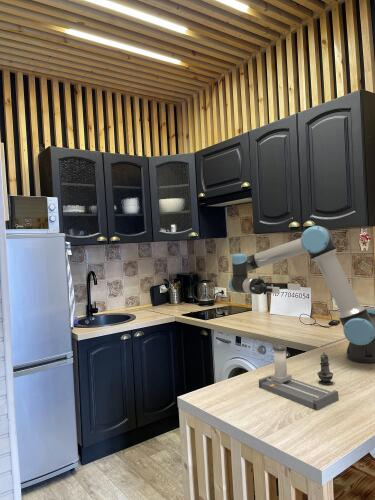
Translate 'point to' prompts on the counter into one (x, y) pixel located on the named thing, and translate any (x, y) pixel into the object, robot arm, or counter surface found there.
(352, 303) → the robot arm
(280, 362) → the fader
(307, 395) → the console
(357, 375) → the counter surface
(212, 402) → the counter surface
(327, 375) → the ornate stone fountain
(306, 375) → the counter surface
